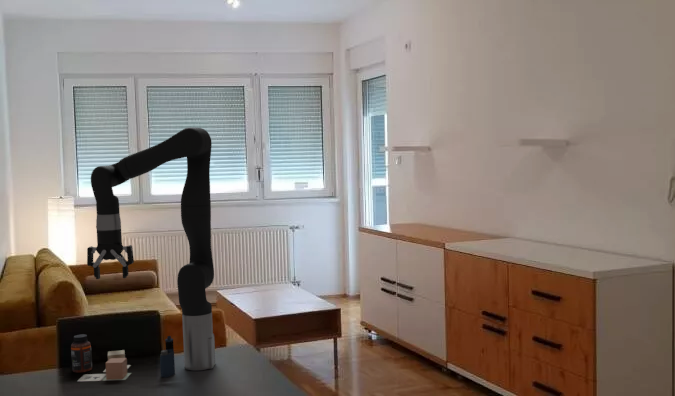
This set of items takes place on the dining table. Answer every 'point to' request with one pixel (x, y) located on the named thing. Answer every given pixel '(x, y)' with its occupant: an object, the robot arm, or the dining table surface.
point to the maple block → (116, 354)
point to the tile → (127, 368)
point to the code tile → (92, 377)
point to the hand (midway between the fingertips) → (111, 278)
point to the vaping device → (167, 359)
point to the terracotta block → (116, 368)
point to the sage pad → (118, 379)
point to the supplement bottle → (81, 354)
